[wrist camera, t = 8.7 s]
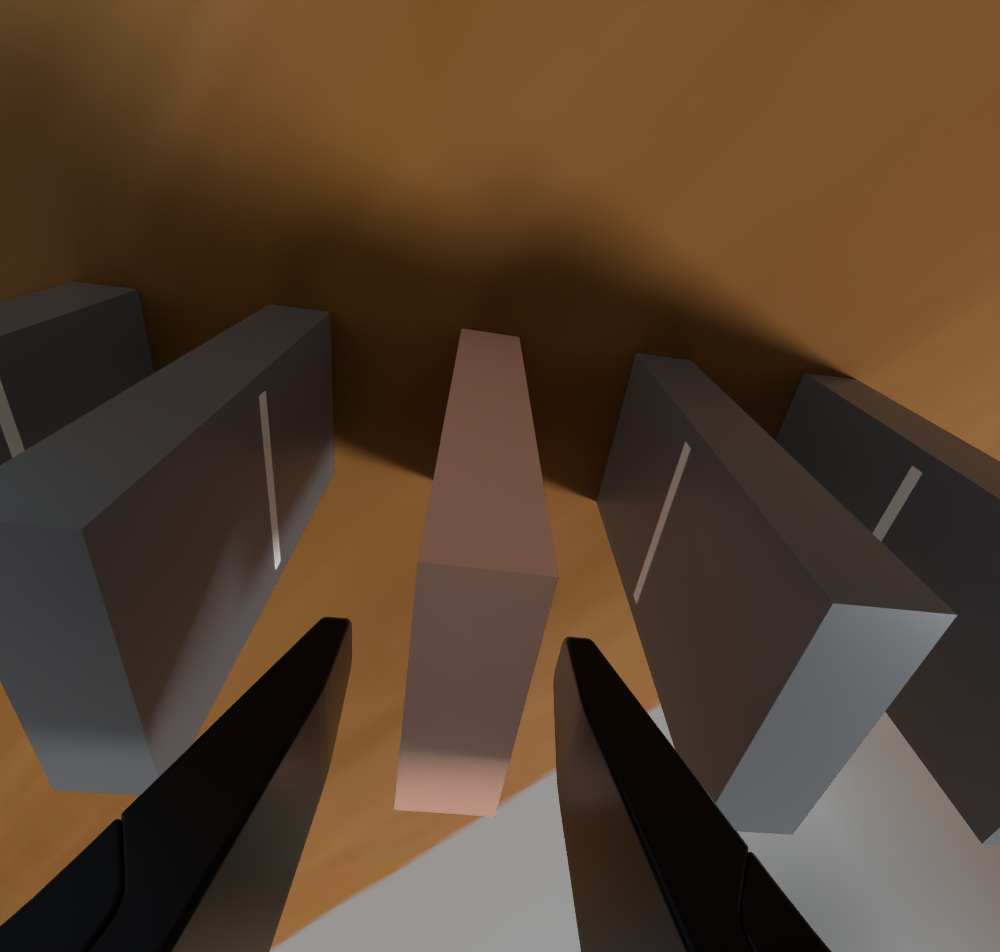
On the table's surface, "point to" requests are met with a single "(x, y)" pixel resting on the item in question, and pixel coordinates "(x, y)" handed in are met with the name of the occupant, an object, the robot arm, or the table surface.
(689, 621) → the domino
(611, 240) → the table surface
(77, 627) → the domino
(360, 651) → the table surface
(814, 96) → the table surface
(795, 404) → the domino
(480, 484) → the domino
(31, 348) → the domino
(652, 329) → the table surface
